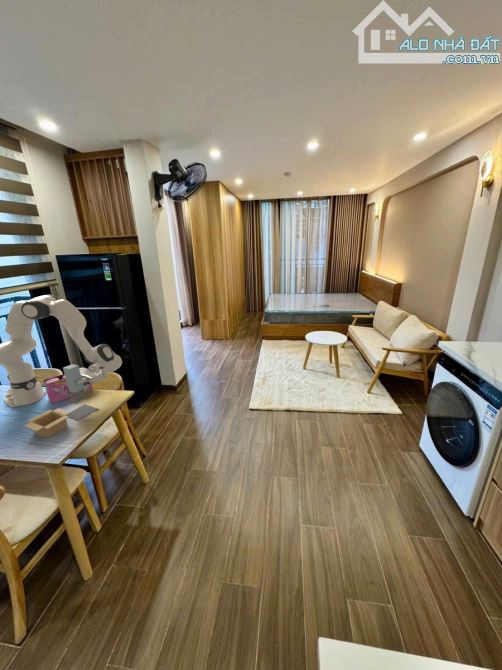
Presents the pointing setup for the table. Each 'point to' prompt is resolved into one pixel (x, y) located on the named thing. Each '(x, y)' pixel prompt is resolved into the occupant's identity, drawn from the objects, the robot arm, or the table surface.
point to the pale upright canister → (74, 383)
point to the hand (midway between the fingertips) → (72, 381)
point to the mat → (82, 412)
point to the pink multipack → (60, 388)
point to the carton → (49, 422)
